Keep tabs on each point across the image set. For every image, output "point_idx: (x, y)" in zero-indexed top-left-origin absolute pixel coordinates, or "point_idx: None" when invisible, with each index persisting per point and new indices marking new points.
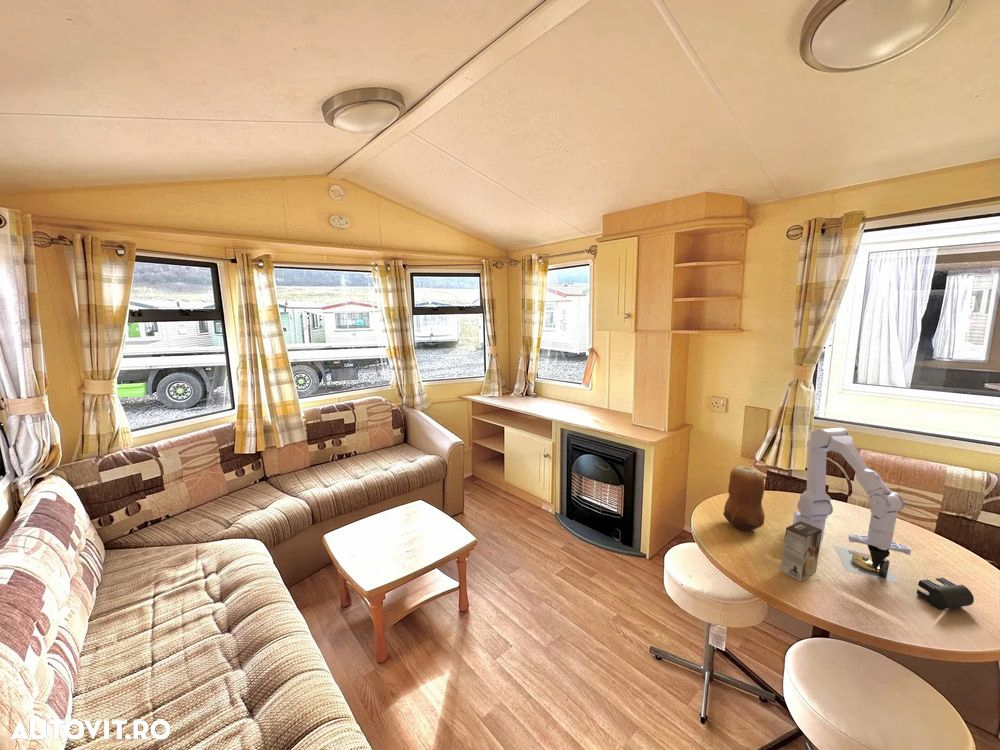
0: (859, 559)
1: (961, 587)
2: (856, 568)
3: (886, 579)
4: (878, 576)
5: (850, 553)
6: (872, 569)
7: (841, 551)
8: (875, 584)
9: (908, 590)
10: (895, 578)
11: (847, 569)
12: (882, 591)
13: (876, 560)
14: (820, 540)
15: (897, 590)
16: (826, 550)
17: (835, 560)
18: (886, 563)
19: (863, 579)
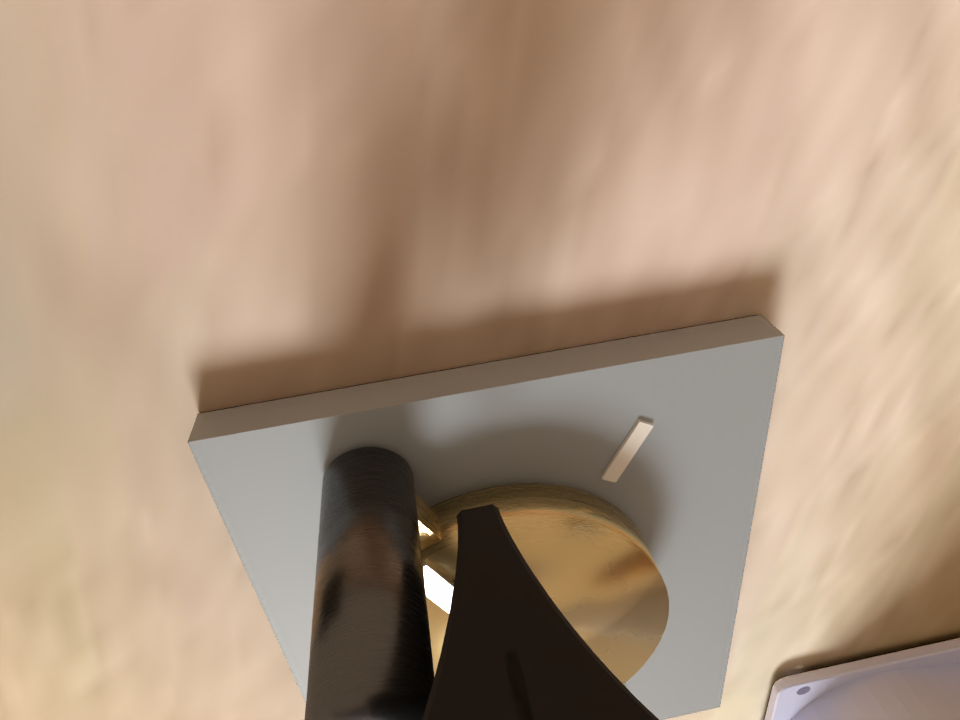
0: (602, 618)
1: None
2: (633, 457)
3: (325, 433)
4: (412, 440)
5: None
6: None
7: (691, 667)
8: (450, 263)
9: (77, 391)
10: (228, 526)
11: (752, 363)
12: (377, 113)
13: (529, 636)
14: (818, 713)
15: (194, 295)
16: (791, 617)
17: (771, 505)
18: (352, 666)
19: (576, 294)
